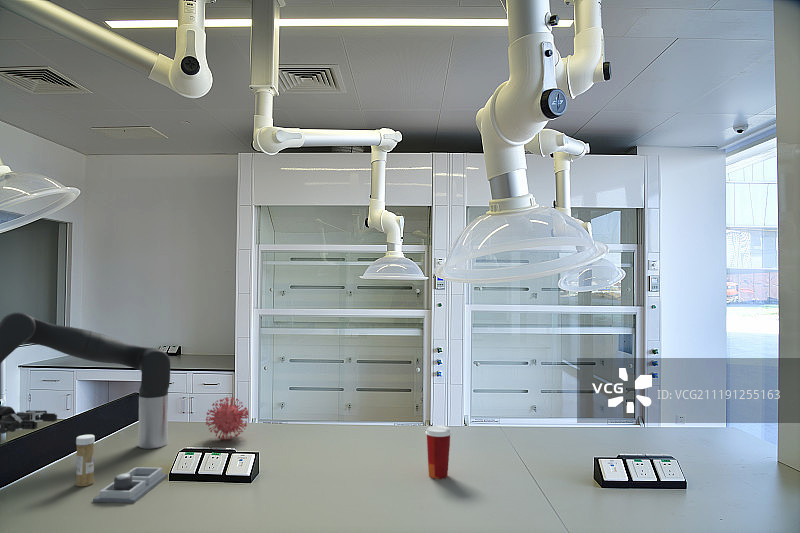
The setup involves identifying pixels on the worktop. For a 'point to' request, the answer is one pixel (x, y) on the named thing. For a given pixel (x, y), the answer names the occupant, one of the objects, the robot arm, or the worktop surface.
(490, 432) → the worktop surface
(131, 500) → the grey flat tray
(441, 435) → the paper cup
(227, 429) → the virus model
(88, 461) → the sprinkles bottle
